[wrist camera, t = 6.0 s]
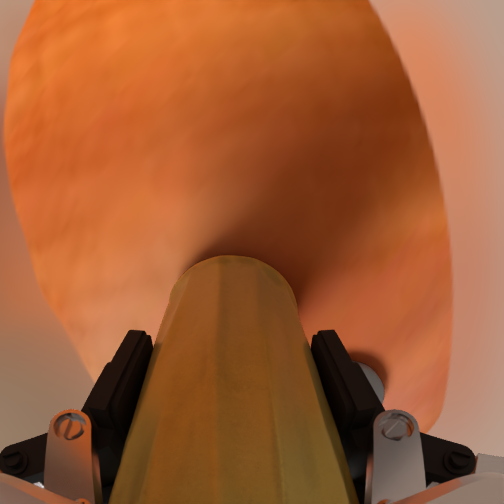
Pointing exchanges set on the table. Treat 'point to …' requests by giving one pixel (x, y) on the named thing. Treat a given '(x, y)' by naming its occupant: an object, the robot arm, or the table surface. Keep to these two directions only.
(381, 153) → the table surface
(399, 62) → the table surface
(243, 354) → the vase
